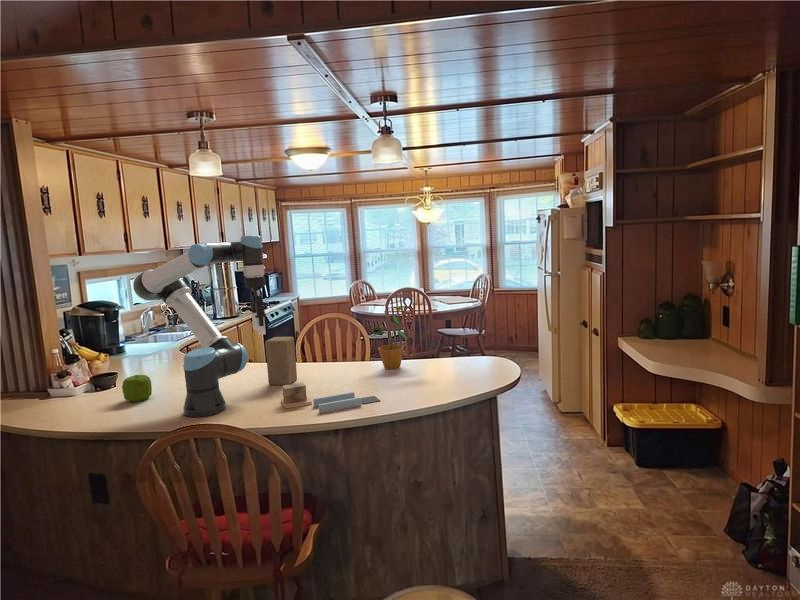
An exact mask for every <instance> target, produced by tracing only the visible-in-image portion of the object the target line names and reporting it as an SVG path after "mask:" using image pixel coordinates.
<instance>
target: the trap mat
mask: <svg viewBox="0 0 800 600" xmlns="http://www.w3.org/2000/svg"><path fill="white" fill-rule="evenodd" d="M377 402H379V403H380V402H381V400H380V399H379V398H378V397H377V396H375V395H371V396H364V397H361V405H367V404H372V403H377Z"/></svg>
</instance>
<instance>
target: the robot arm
mask: <svg viewBox="0 0 800 600" xmlns="http://www.w3.org/2000/svg"><path fill="white" fill-rule="evenodd" d="M231 262H242V265H243V266H242V269H243V270H242V271H243V276H244V277H245V278H244V280H243V281H244V287H245V288H249V291H250V292H249V295H250V311H251V316H252V317H251V319H252V328H253V330H254V331H256V330H257V335H258V336H261V335H263V336H264V335H266V334H267V333H266V332H267V331H266V323H265V321H266V320H265V316H266V313H265V306H264V299H263V291H262V289H260V288H263V287H265V286H266V277H265V276H264V275H265V270H266V266H265V265H264V264H265V263H264V252H263V242H262V237H261V236H260V235H257V234H255V235H254V234H253V235H242V236H240V241H223V242H199V243H194V244H192V245H190V247H189V249H188V251H187V252H185V253H182V254H181V255H179V256H177V257H176V258H173V259H171V260H170V261H167V262H165V263H164V264H162V265H160V266H158V267H156V268H154V269H147V270H144V271H143V272H141V273H140V274H138V275H137V276H135V278H134V280H133V284H132V285H133V287H132V288H133V292H134V294H135V295H137V297H139V298H140V299H142V300H145V301H158V300H159V301H160V300H162V301H163V303H164V304H165V305H166V307H169V308H172V309H173V310H174V311H175V312H176V313H177V315H178V317H180V319H181V321H182V322H183V323H184V324H185V326H186V327H188V329H189V331H190V332H191V333H192V334H193V336H194V338H196V340H197V341H198V342H199V344H200V345H201V346H202V347H201V348H196V349H192V350H190V351H189V352H187V353H186V354H185V355H184V356H183V371H184V378H185V388H186V396H185V399H184V404H183V415H184V416H185V417H189V418H202V417H203V418H204V417H210V416H213V415H217V414H219V413H221V412H224V411H225V410H226V408H227V405H226V401H225V398H224V395H223V394H222V392H221V390H220V384H219V381H220V379H222V378H225V377H228V376H232V375H236V374H238V373H239V372H241V371H243V370H244V369H245V367H246V365H247V363H248V352H247V349H246V347H244V345H243V344H241V343H238V342H233V341H232V340H231V338H230V337H229V336H223V334H222V333H221V332H220V330H219V329H218V328H217V327H216V325H215V324H214V323H213V322H212V320H211V319H210V318H209V317H208V316H209V315H207V314H206V313H205V311H204V310H203V308H202V307H201V306H200V305H199V303H198V302H197V301H196V300H195V298H194V297H193V295H192V283H191V278H190V276H189V275H191V274H192V273H194V272H196V271H198V270H200V269H202V268H204V267H207V266H208V265H212V264H220V263H231Z"/></svg>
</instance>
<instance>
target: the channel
mask: <svg viewBox="0 0 800 600" xmlns="http://www.w3.org/2000/svg"><path fill="white" fill-rule="evenodd" d="M355 396H356V395H355V392H354V391H351V392H345V393H340V394H339V393H338V394H333V395H326V396H321V397H315V398H312V399H313V400H312V401H313V402H312V403H313V408H316V407H317V408H318V414H322V413H328V412H334V411H339V410H345V409H350V408H355V407H361V406H362V403H361V398H362V397H361V396H359V397H355Z"/></svg>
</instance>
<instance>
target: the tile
mask: <svg viewBox="0 0 800 600" xmlns="http://www.w3.org/2000/svg"><path fill="white" fill-rule="evenodd" d="M312 401H313V400H311V399H310V398H309V397H308V396H307V401H301V402H296V403H290V404H286V403H285V402H284V399H283V398H281V399H280V402H281V403H282V405H283V407H284V409H286V408H287V409H292V407H293V408H299V407H303V406H309V405H313V402H312ZM298 406H299V407H298Z"/></svg>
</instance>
